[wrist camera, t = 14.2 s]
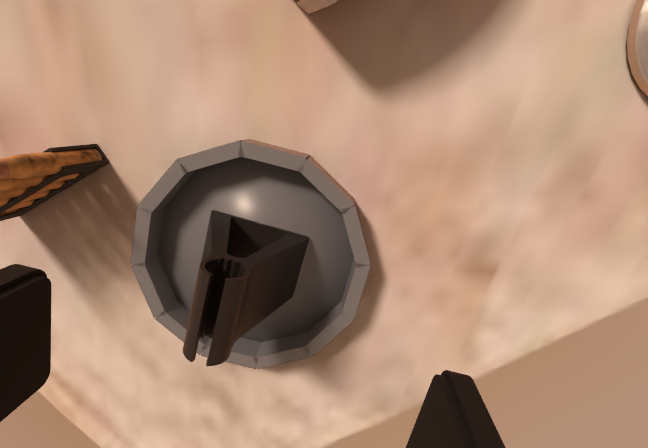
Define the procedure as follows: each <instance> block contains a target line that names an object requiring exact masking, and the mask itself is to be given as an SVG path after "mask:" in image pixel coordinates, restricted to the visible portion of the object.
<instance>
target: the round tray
mask: <svg viewBox="0 0 648 448" xmlns="http://www.w3.org/2000/svg"><path fill="white" fill-rule="evenodd" d="M308 157H309V155H308V154H304V153H300V152H296V151H293V150H289V149H285V148H281V147H277V146H274V145H270V144H266V143H262V142H258V141H255V140H251V139H250V140H249V139H248V140H240V141H236V142H233V143H229V144H226V145H222V146H219V147H216V148H212V149H209V150H206V151H202V152H199V153H195V154H192V155H189V156H185V157H182V158H178V159H177V160H176V161H175V162H174V163H173V164H172V165H171V167H170V168H169V169H168V170H167V171H166V172H165V174H164V175H163V176H162V177H161V178H160V180H159V181H158V182H157V183H156V184H155V185H154V187H153V188H152V189H151V190H150V191H149V193H148V194H147V195H146V196H145V197H144V198H143V200H142V201H141V202H140V203H139V204H138V207H137V212H136V221H135V230H134V238H133V247H132V256H131V264H132V265H131V267H132V269H133V271H134V274H135V276H136V278H137V280H138V283H139V285H140V287H141V289H142V292H143V294H144V296H145V298H146V301H147V303H148V305H149V308H150V310H151V312H152V314H153V317H154V318H155V317H156V318H155V319H156V320H157V321H158V322H159V323H161V324H162V325H163V326H164V327H166V328H167V329H168V330H169V331H170V332H172V333H173V334H174V335H175V336H177V337H178V338H179V339H180V340H182V341H183V342H184V341H185V336H186V331H187V327H188V322H189V317H190V312H191V307H192V302H193V297H194V292H195V287H196V282H197V277H198V272H199V267H200V263H201V259H202V254H203V249H204V244H205V240H206V235H207V230H208V225H209V220H210V215H211V211H212V210H215V211H219V212H223V213H226V214H230V215H233V216H237V217H241V218H244V219H248V220H251V221H255V222H258V223H260V224H265V225H269V226H273V227H276V228H280V229H283V230H287V231H290V232H294V233H298V234H301V235H305V236H308V237H309V242H308V245H307V249H306V252H305V256H304V259H303V263H302V266H301V270H300V273H299V277H298V280H297V284H296V287H295V291H294V294H293V297H292V298H291V299H289V300H288V301H287V302H285V303H284V304H283V305H282V306H280V307H279V308H278V309H276V310H275V311H274V312H273V313H271V314H270V315H269V316H267V317H266V318H265V319H263V320H262V321H261V322H260V323H258V324H257V325H256V326H254V327H253V328H252V329H251V330H249V331H248V332H247V333H245V334H244V335H243V336H241V337H240V338H239V339H238V340H237V341H236V342H235V343H234V345H233V346H232V349H231V353H230V356H229V358H228V359H227V360H226V361H225V362H229V363H233V364H237V365H241V366H245V367H250V368H254V369H256V367H257V369H260V368H264V367H269V366H273V365H278V364H282V363H287V362H291V361H296V360H300V359H305V358H309V357H311V356H314V355H315V354H316V353H317V352H318V351H319V350H320V349H322V348H323V347H324V346H325V345H326V344H327V343H328V342H330V341H331V340H332V339H333V338H334V337H335V336H336V335H338V334H339V333H340V332H341V331H342V330H343V329H344V328H346V327H347V326H348V325H349V324H350V323H351V322H352V321H353V319H354V318H355V315H356V312H357V309H358V305H359V302H360V299H361V296H362V293H363V289H364V286H365V283H366V280H367V277H368V273H369V270H370V267H371V265H370V264H371V263H370V259H369V255H368V251H367V247H366V243H365V240H364V236H363V232H362V228H361V224H360V221H359V217H358V213H357V209H356V205H355V202H354V199H353V197H352V196H351V195H350V194H349V193H348V192H347V191H346V190H345V189H344V188H343V187H342V186H341V185H340V184H339V183H338V182H337V181H336V180H335V179H334V178H333V177H332V176H331V175H330V174H329V173H328V172H327V171H326V170H325V169H324V168H323V167H322V166H321V165H320V164H319V163H318V162H317V161H316V160H315V159H314V158H313V157H311V156H310V157H309V158H308ZM211 341H212V338H209V337H208V336H207V335H206V336H205V337H204V338H201V337H200V338H199V342H198V347H197V352H196V353H198V354H199V355H200V354H201V356H204V357H208V354H209V350H210V345H211Z"/></svg>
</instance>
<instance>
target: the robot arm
mask: <svg viewBox="0 0 648 448" xmlns="http://www.w3.org/2000/svg"><path fill="white" fill-rule="evenodd" d="M627 53H628V61H629V65H630V69H631V72H632V75H633V77H634V79H635V80H636V82H637V84H638V86H639V87H640V89H641V90H642V91H643V92H644V93H645V94H646V95H647V97H648V0H638V1H637V3H636V5H635V7H634V10H633V14H632V17H631V20H630V23H629V29H628V37H627ZM50 359H51V281H50V280H49V279H48V278H47V275H46V273H45V272H44V271H42V270H40V269H36V268H31V267H27V266H23V265H19V264H14V265H10V266H7V267H5V268H3V269H0V422H1V421H2V420H3V419H4V418H6V417H7V416H8V415H9V414H10V413H11V412H12V411H14V410H15V409H16V408H17V407H18V406H20V405H21V404H22V403H23V402H24V401H25V400H26V399H28V398H29V397H30V396H31V395H33V394H34V393H35V392H36V391H37V390H38V389H40V388H41V387H42V386H43V385H44V383H45V382H46V380H47V379H48V377H49V374H50ZM406 448H505V446H504V444H503V442H502V440H501V438H500V435H499V433H498V431H497V429H496V427H495V425H494V423H493V421H492V419H491V417H490V414H489V413H488V410H487V408H486V406H485V404H484V402H483V400H482V398H481V396H480V394H479V391H478V389H477V387H476V385H475V383H474V381H473V379H472V378H471V377H470V376H468V375H464V374H460V373H456V372H452V371H448V370H445V371H443V372H442V374H441V375H435V376H434V377H433V379H432V382H431V384H430V387H429V389H428V392H427V395H426V397H425V400H424V402H423V405H422V407H421V410H420V413H419V415H418V418H417V421H416V423H415V425H414V428H413V431H412V433H411V436H410V438H409V441H408V444H407V446H406Z"/></svg>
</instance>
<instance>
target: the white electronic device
mask: <svg viewBox="0 0 648 448" xmlns="http://www.w3.org/2000/svg"><path fill="white" fill-rule="evenodd" d="M336 1H338V0H299V1H298V2H297V4H298V5H299V6H300V7H301V8H302V9H303V10H304V11H305V12H307V13H308V14H310V13H313V12H315V11H318V10H320V9H322V8H325V7H327V6H330V5H332V4H334V3H335V2H336Z"/></svg>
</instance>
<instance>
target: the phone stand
mask: <svg viewBox="0 0 648 448" xmlns="http://www.w3.org/2000/svg"><path fill="white" fill-rule="evenodd" d="M308 242H309V237H308V236H305V235H301V234H298V233H294V232H290V231H287V230H283V229H280V228H276V227H273V226H269V225H265V224H260V223H258V222H255V221H251V220H248V219H244V218H241V217H237V216H233V215H230V214H226V213H223V212H219V211H215V210H212V211H211V215H210V220H209V225H208V230H207V235H206V240H205V244H204V249H203V254H202V259H201V263H200V267H199V272H198V277H197V282H196V287H195V292H194V297H193V302H192V307H191V312H190V317H189V322H188V327H187V331H186V336H185V341H184V346H183V353H184V356H185V357H186V358H187V359H188V360H189V361H191V362H193V361H194V360H195V356H196V352H197V347H198V342H199V338H200V337H201V338H204V337H205V336H206V335H207V336H208V337H209V338H212V341H211V345H210V350H209V354H208V359H207V364H206V366H214V365H218V364H221V363H223V362H224V361H226V360H227V359H228V358H229V356H230V353H231V349H232V346H233V345H234V343H235V342H236V341H237V340H238V339H239V338H240V337H241V336H243V335H244V334H245V333H247V332H248V331H249V330H251V329H252V328H253V327H254V326H256V325H257V324H258V323H260V322H261V321H262V320H263V319H265V318H266V317H267V316H269V315H270V314H271V313H273V312H274V311H275V310H276V309H278V308H279V307H280V306H282V305H283V304H284V303H285V302H287V301H288V300H289V299H291V298H292V297H293V294H294V291H295V287H296V284H297V280H298V277H299V273H300V270H301V266H302V263H303V259H304V256H305V252H306V249H307V245H308Z"/></svg>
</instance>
